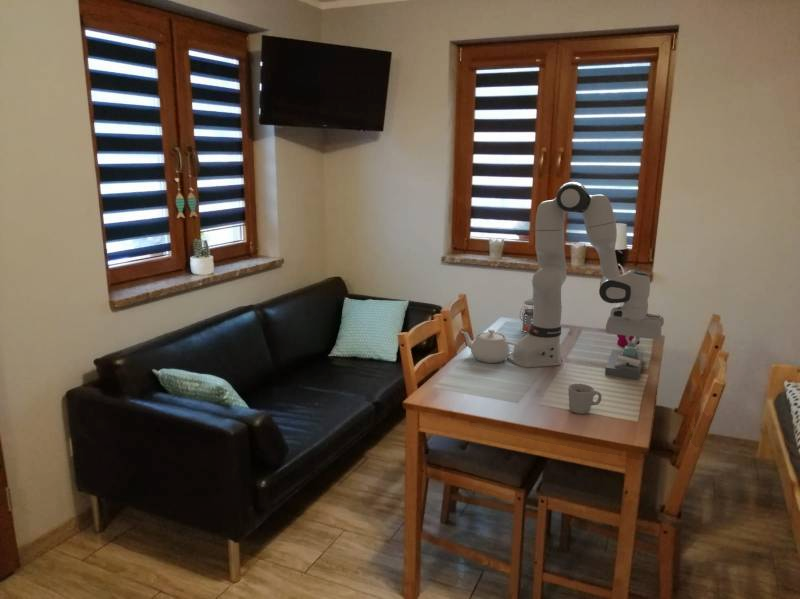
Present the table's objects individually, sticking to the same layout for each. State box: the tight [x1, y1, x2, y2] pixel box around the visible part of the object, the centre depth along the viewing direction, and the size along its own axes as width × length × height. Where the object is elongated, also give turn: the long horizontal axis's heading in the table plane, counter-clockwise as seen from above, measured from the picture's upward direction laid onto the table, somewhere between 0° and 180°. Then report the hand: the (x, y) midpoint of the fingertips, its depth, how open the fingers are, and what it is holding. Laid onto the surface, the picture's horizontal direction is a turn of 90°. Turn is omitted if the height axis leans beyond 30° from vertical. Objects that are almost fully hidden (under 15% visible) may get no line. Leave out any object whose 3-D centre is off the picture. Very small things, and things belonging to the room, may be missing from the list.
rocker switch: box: [617, 355, 640, 367], centre depth 226 cm, size 4×8×2 cm, turn 65°
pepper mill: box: [616, 334, 635, 347], centre depth 261 cm, size 7×7×20 cm
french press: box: [519, 298, 534, 332], centre depth 279 cm, size 10×12×25 cm
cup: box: [568, 383, 602, 415], centre depth 193 cm, size 11×8×8 cm
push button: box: [623, 346, 638, 356], centre depth 233 cm, size 4×4×3 cm
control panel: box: [604, 349, 645, 381], centre depth 234 cm, size 24×12×6 cm, turn 155°
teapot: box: [460, 329, 519, 364], centre depth 242 cm, size 25×16×12 cm, turn 60°
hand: (631, 346), depth 232 cm, fingers closed
